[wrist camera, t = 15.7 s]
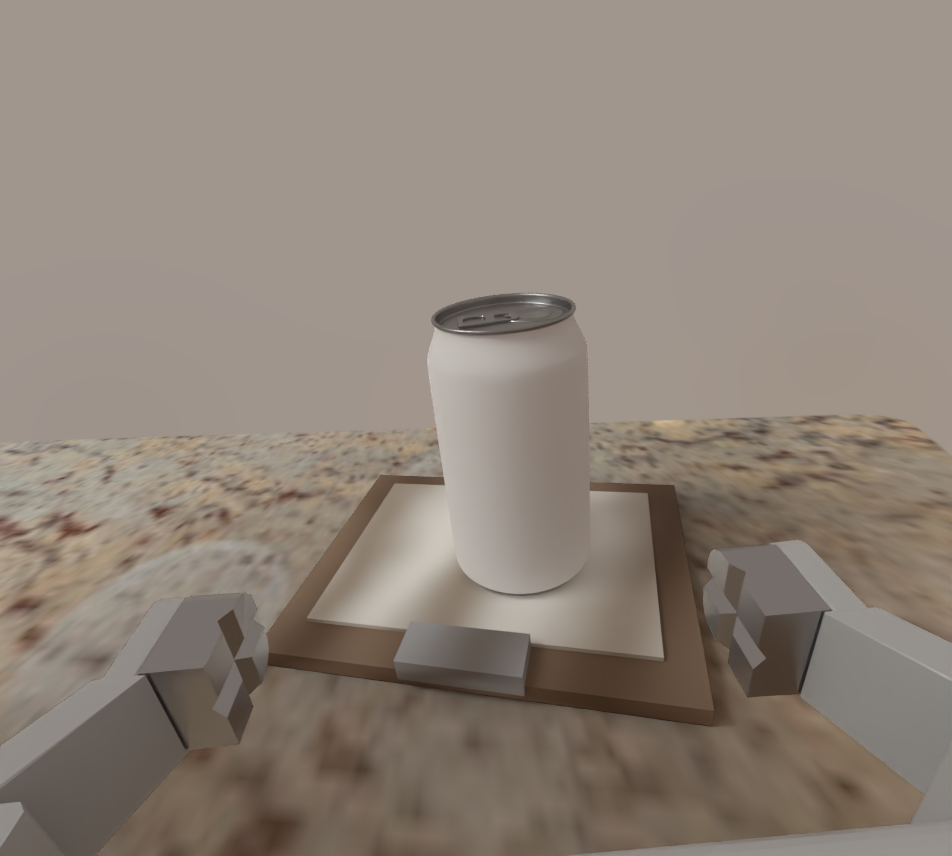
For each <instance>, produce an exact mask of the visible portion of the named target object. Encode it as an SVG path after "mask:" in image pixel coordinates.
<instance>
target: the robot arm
mask: <svg viewBox="0 0 952 856" xmlns="http://www.w3.org/2000/svg"><path fill="white" fill-rule="evenodd" d="M707 568H708V569H709V571H710V573H711V574H712V576H713V578H712V579H711V580H710V581H709V582H708V583H707V584H706V585H705V586H704V592H703V607H704V613H705V618H706V621H707V623H708V626H709V629H710V631H711V633H712V635H713V636H714V638H715V640H716V641H717V642H719V643H720V644H722V645H723V646H725V647H726V648H728V649H729V650H730V653H729V658H728V664H729V666H730V667H731V669H732V671H733V673H734V675H735V676H736V678H737V680H738V682H739V683H740V685H741V687H742V689H743V691H744V692H745V694H746V696H747V697H761V696H777V695H792V694H801V695H800V697H801V698H802V699H803V700H805V701H806V702H807V703H809V704H810V705H811V706H812V707H814V708H815V709H816V710H817V711H819V712H820V713H821V714H822V715H824V716H825V717H826V718H828V719H829V720H830V721H831V722H833V723H834V724H835V725H836V726H838V727H839V728H840V729H841V730H843V731H844V732H845V733H847V734H848V735H849V736H850V737H852V738H853V739H854V740H855V741H857V742H858V743H859V744H861V745H862V746H863V747H864V748H866V749H867V750H868V751H869V752H871V753H872V754H873V755H874V756H876V757H877V758H878V759H880V760H881V761H882V762H883V763H885V764H886V765H887V766H888V767H890V768H891V769H892V770H894V771H895V772H896V773H897V774H899V775H900V776H901V777H902V778H904V779H905V780H906V781H907V782H909V783H910V784H911V785H913V786H914V787H915V788H916V789H918V790H919V791H920V792H921V793H923V794H924V795H923V797H922V799H921V801H920V803H919V805H918V806H917V808H916V810H915V812H914V814H913V816H912V818H911V822H910V824H902V825H891V826H880V827H869V828H858V829H848V830H837V831H826V832H815V833H804V834H793V835H783V836H772V837H761V838H750V839H739V840H728V841H717V842H706V843H695V844H684V845H673V846H662V847H651V848H640V849H630V850H619V851H608V852H597V853H586V854H575V855H564V856H952V643H950V642H948V641H946V640H944V639H942V638H940V637H938V636H936V635H934V634H932V633H930V632H928V631H926V630H923V629H921V628H919V627H917V626H915V625H913V624H911V623H909V622H907V621H905V620H903V619H901V618H899V617H897V616H894V615H892V614H890V613H888V612H886V611H884V610H882V609H880V608H878V607H874V608H867V607H866V605H865V604H864V603H863V602H862V601H861V600H860V599H859V598H858V597H857V596H856V595H855V594H854V593H853V592H852V591H851V590H850V588H849V587H848V586H847V585H846V584H845V583H844V582H843V581H842V580H841V579H840V578H839V577H838V576H837V575H836V574H835V573H834V571H833V570H832V569H831V568H830V567H829V566H828V565H827V564H826V563H825V562H824V561H823V560H822V559H821V558H820V557H819V556H818V554H817V553H816V552H815V551H814V550H813V549H812V548H811V547H810V546H809V545H808V544H807V543H805V542H803V541H801V540H793V541H784V542H775V543H770V544H760V545H750V546H740V547H730V548H720V549H713V550H712V551H711V553H710V555H709V558H708V564H707ZM256 610H257V607H256V605H255V603H254V600H253V598H252V595H250V594H247V593H232V594H218V595H203V596H190V597H184V598H168V599H161V600H159V601H158V602H156V603H154V604H153V605H152V606H151V608H150V609H149V611H148V612H147V614H146V615H145V617H144V618H143V620H142V621H141V623H140V624H139V625H138V627H137V628H136V630H135V631H134V633H133V634H132V636H131V637H130V639H129V640H128V642H127V643H126V645H125V646H124V647H123V649H122V650H121V652H120V653H119V655H118V656H117V658H116V659H115V661H114V662H113V664H112V665H111V667H110V668H109V669H108V671H107V672H106V674H105V675H104V677H103V678H102V679H96V680H92V681H90V682H89V683H87V684H86V685H85V686H83V687H82V688H80V689H79V690H78V691H76V692H75V693H73V694H72V695H71V696H69V697H68V698H66V699H65V700H64V701H62V702H61V703H59V704H58V705H57V706H55V707H54V708H52V709H51V710H50V711H48V712H47V713H45V714H44V715H43V716H41V717H40V718H38V719H37V720H36V721H34V722H33V723H31V724H30V725H29V726H27V727H26V728H24V729H23V730H22V731H20V732H19V733H17V734H16V735H14V736H13V737H12V738H10V739H9V740H7V741H6V742H5V743H3V744H2V745H0V856H95V855H96V854H97V853H98V852H99V851H100V849H101V848H102V847H103V846H104V845H105V844H106V843H107V842H108V841H109V840H110V838H111V837H112V836H113V835H114V834H115V833H116V832H117V831H118V830H119V828H120V827H121V826H122V825H123V824H124V823H125V822H126V821H127V820H128V819H129V817H130V816H131V815H132V814H133V813H134V812H135V811H136V810H137V809H138V807H139V806H140V805H141V804H142V803H143V802H144V801H145V800H146V799H147V798H148V796H149V795H150V794H151V793H152V792H153V791H154V790H155V789H156V788H157V786H158V785H159V784H160V783H161V782H162V781H163V780H164V779H165V778H166V777H167V775H168V774H169V773H170V772H171V771H172V770H173V769H174V768H175V767H176V765H177V764H178V763H179V762H180V761H181V760H182V759H183V758H184V757H185V756H186V754H187V750H196V749H204V748H212V747H220V746H228V745H237V744H239V743H240V741H241V738H242V735H243V733H244V730H245V727H246V724H247V722H248V719H249V716H250V714H251V711H252V708H253V705H252V702H251V700H250V697H249V694H250V693H251V692H252V691H253V690H255V689H256V688H257V687H258V686H259V685H260V684H261V683H262V681H263V678H264V675H265V672H266V669H267V663H268V654H269V646H268V638H267V635H266V632H265V629H264V627H263V626H262V625H260V624H259V623H257V622H256V621H255V620H253V617H254V615H255V612H256Z"/></svg>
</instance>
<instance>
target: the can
mask: <svg viewBox="0 0 952 856" xmlns="http://www.w3.org/2000/svg"><path fill="white" fill-rule="evenodd" d="M575 310H576V305H575V303H574V302H573V301H571V300H570V299H567V298H565V297H561V296H557V295H551V294H542V293H512V294H500V295H492V296H485V297H479V298H474V299H469V300H465V301H461V302H458V303H455V304H452V305H450V306H447V307H444V308H442V309H440V310H439V311H437V312H436V313H435V314H434V315H433V316H432V319H431V321H432V324H433V325H434V327H435V330H434V335H433V339H432V341H431V344H430V347H429V351H428V355H427V365H428V372H429V381H430V388H431V395H432V402H433V408H434V415H435V422H436V429H437V436H438V442H439V449H440V455H441V462H442V469H443V475H444V482H445V488H446V495H447V501H448V508H449V514H450V520H451V527H452V533H453V539H454V545H455V551H456V556H457V560H458V563H459V565H460V567H461V569H462V570H463V572H464V573H465V574H466V575H467V576H468V577H469V578H470V579H472V580H473V581H474V582H476V583H478V584H479V585H481V586H483V587H485V588H487V589H489V590H491V591H494V592H497V593H501V594H506V595H515V596H526V595H535V594H540V593H544V592H547V591H550V590H553V589H555V588H557V587H559V586H561V585H563V584H564V583H566V582H567V581H568V580H570V579H571V578H573V577H574V576H575V575H576V574H577V573H578V572H579V571H580V570H581V569H582V567H583V566H584V564H585V563H586V560H587V558H588V555H589V550H590V474H589V401H588V359H587V345H586V341H585V338H584V336H583V334H582V332H581V330H580V328H579V326H578V324H577V323H576V320H575V318H574V312H575Z"/></svg>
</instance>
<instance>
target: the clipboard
mask: <svg viewBox="0 0 952 856" xmlns="http://www.w3.org/2000/svg"><path fill="white" fill-rule="evenodd" d="M266 635H267V638H268V646H269V654H268V663H267V665H273V666H280V667H287V668H294V669H302V670H309V671H316V672H323V673H331V674H338V675H345V676H352V677H360V678H367V679H374V680H381V681H389V682H396V683H403V684H411V685H418V686H425V687H432V688H440V689H447V690H454V691H461V692H469V693H476V694H483V695H490V696H498V697H505V698H512V699H519V700H527V701H534V702H541V703H548V704H556V705H563V706H570V707H577V708H585V709H592V710H599V711H606V712H614V713H621V714H628V715H635V716H643V717H650V718H657V719H664V720H672V721H679V722H686V723H694V724H701V725H708V726H712V725H713V718H714V712H715V710H714V705H713V699H712V694H711V688H710V683H709V677H708V671H707V666H706V660H705V655H704V649H703V644H702V638H701V632H700V627H699V621H698V616H697V610H696V605H695V599H694V594H693V588H692V582H691V577H690V571H689V566H688V560H687V555H686V549H685V543H684V538H683V532H682V527H681V521H680V516H679V510H678V504H677V499H676V493H675V488H674V485H650V484H621V483H592V482H590V550H589V555H588V558H587V560H586V563H585V564H584V566H583V567H582V569H581V570H580V571H579V572H578V573H577V574H576V575H575V576H574V577H573V578H571V579H570V580H568V581H567V582H566V583H564V584H563V585H561V586H559V587H557V588H555V589H553V590H550V591H547V592H544V593H540V594H535V595H526V596H515V595H506V594H501V593H497V592H494V591H491V590H489V589H487V588H485V587H483V586H481V585H479V584H478V583H476V582H474V581H473V580H472V579H470V578H469V577H468V576H467V575H466V574H465V573H464V572H463V570H462V569H461V567H460V565H459V563H458V560H457V556H456V551H455V545H454V539H453V533H452V527H451V520H450V514H449V508H448V501H447V495H446V488H445V482H444V477H419V476H391V475H380V476H379V478H378V479H377V481H376V482H375V483H374V485H373V486H372V488H371V489H370V490H369V492H368V493H367V495H366V496H365V497H364V499H363V500H362V502H361V503H360V504H359V506H358V507H357V509H356V510H355V511H354V513H353V514H352V516H351V517H350V518H349V520H348V521H347V523H346V524H345V525H344V527H343V528H342V530H341V531H340V532H339V534H338V535H337V536H336V538H335V539H334V541H333V542H332V543H331V545H330V546H329V548H328V549H327V550H326V552H325V553H324V555H323V556H322V557H321V559H320V560H319V562H318V563H317V564H316V566H315V567H314V569H313V570H312V571H311V573H310V574H309V576H308V577H307V578H306V580H305V581H304V583H303V584H302V585H301V587H300V588H299V590H298V591H297V592H296V594H295V595H294V596H293V598H292V599H291V601H290V602H289V603H288V605H287V606H286V608H285V609H284V610H283V612H282V613H281V615H280V616H279V617H278V619H277V620H276V622H275V623H274V624H273V626H272V627H271V629H270V630H269V631H268V633H267V634H266Z"/></svg>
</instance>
